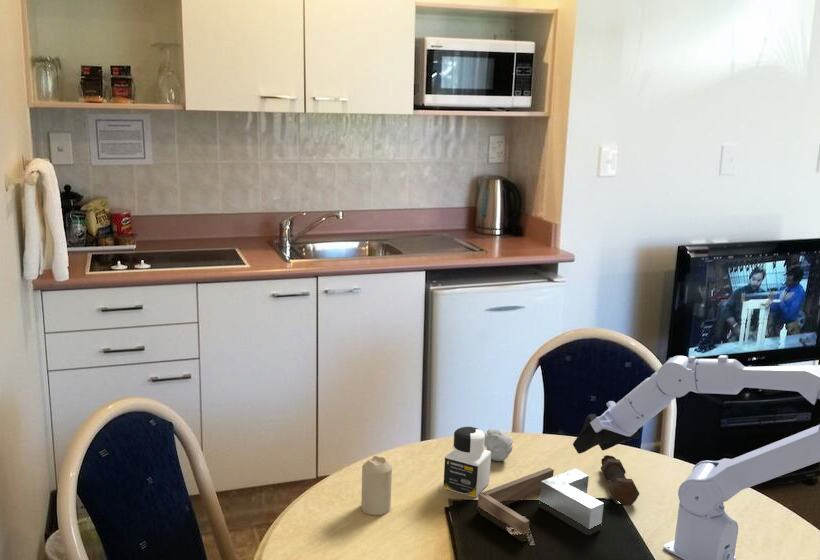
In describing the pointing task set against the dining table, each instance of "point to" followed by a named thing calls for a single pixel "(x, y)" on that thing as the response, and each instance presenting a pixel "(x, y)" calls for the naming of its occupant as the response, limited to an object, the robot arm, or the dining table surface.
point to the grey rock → (498, 444)
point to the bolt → (618, 481)
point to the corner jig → (513, 498)
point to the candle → (376, 486)
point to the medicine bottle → (467, 463)
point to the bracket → (572, 497)
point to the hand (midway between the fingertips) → (588, 447)
